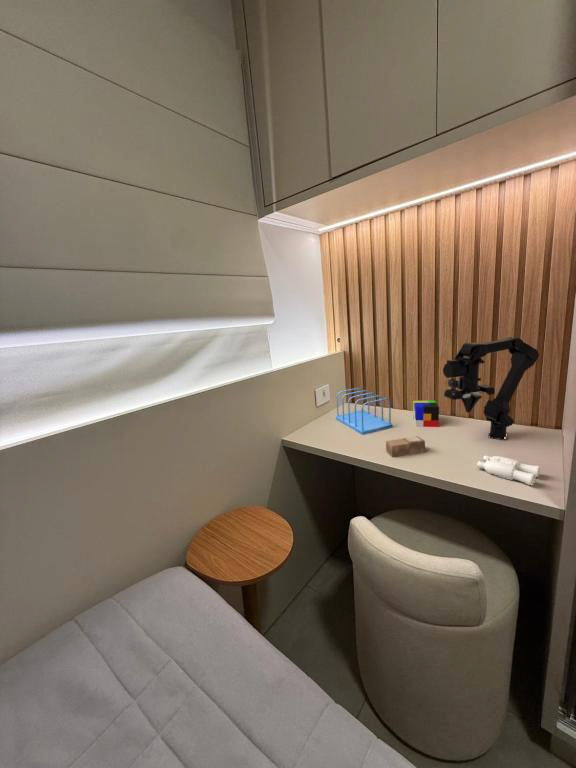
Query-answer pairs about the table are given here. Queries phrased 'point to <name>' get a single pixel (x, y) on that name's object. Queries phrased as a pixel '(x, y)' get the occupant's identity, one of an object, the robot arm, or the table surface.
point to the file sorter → (363, 415)
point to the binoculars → (509, 468)
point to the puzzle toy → (425, 413)
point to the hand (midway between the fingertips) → (468, 412)
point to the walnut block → (405, 446)
